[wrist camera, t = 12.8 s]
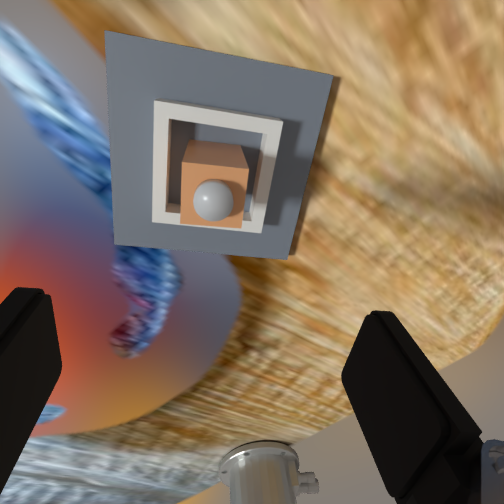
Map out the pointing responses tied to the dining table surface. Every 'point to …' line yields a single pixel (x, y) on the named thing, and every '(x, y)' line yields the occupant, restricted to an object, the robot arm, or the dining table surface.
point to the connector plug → (213, 184)
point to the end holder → (212, 130)
